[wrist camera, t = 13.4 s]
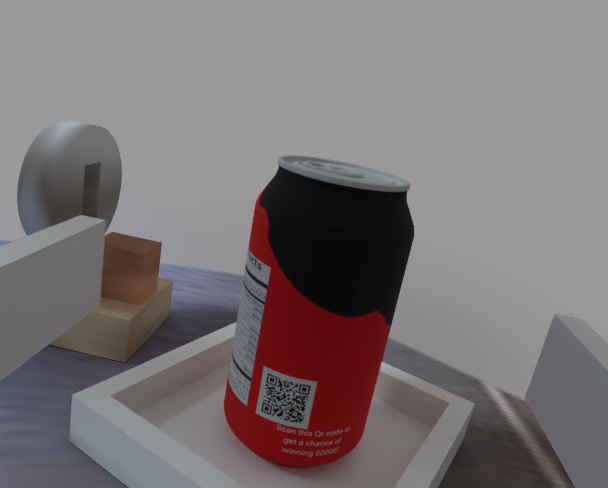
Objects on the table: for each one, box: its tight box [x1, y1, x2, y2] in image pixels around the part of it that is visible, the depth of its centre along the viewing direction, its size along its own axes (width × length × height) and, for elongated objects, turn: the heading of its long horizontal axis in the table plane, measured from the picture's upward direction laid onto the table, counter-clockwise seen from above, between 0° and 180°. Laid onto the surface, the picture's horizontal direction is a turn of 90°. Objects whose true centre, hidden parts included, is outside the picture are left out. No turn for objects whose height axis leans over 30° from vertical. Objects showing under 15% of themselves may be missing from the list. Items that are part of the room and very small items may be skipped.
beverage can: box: [224, 155, 414, 468], centre depth 21 cm, size 6×6×12 cm
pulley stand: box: [17, 120, 173, 363], centre depth 28 cm, size 10×7×12 cm
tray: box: [69, 322, 475, 488], centre depth 22 cm, size 13×13×2 cm
